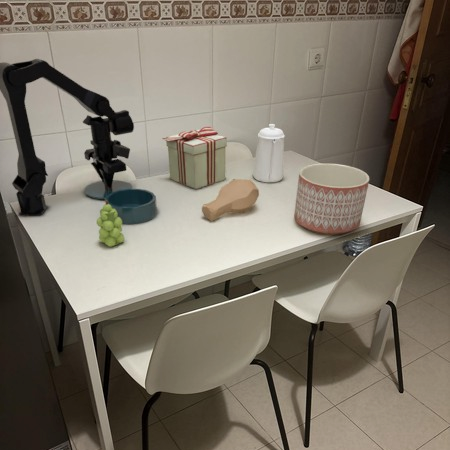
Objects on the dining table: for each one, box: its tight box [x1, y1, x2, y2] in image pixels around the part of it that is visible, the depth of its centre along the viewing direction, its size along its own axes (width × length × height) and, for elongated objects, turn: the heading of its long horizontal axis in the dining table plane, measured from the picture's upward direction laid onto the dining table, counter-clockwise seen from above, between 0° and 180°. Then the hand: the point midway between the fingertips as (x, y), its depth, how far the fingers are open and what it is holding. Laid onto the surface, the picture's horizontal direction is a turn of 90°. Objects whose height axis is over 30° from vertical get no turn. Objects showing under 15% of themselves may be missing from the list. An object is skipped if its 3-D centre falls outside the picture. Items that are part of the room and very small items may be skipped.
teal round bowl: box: [104, 188, 158, 225], centre depth 134 cm, size 15×15×5 cm
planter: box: [293, 162, 370, 236], centre depth 129 cm, size 19×19×15 cm
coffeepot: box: [252, 123, 286, 183], centre depth 157 cm, size 11×25×19 cm, turn 179°
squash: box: [201, 178, 260, 221], centre depth 136 cm, size 11×20×9 cm, turn 135°
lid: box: [84, 178, 134, 200], centre depth 148 cm, size 16×16×5 cm
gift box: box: [162, 126, 228, 190], centre depth 156 cm, size 17×18×17 cm
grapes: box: [96, 199, 125, 247], centre depth 117 cm, size 7×7×12 cm
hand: (108, 185), depth 149 cm, fingers closed on lid, 2 cm apart
